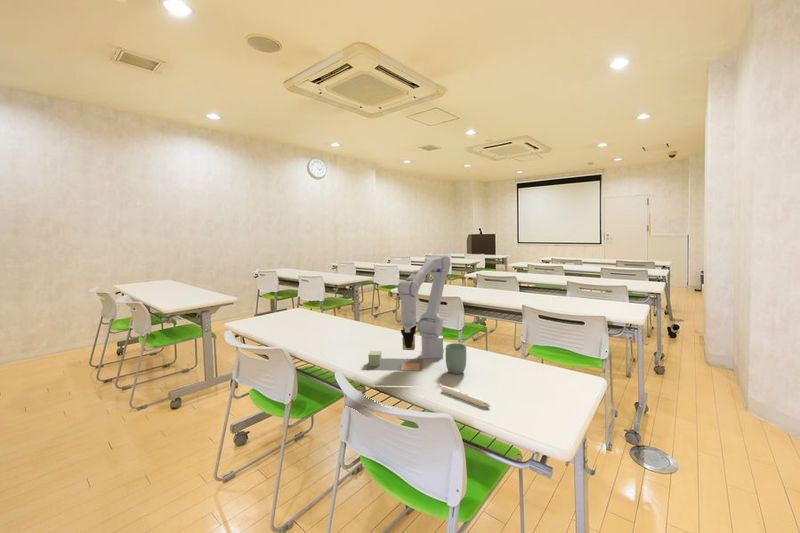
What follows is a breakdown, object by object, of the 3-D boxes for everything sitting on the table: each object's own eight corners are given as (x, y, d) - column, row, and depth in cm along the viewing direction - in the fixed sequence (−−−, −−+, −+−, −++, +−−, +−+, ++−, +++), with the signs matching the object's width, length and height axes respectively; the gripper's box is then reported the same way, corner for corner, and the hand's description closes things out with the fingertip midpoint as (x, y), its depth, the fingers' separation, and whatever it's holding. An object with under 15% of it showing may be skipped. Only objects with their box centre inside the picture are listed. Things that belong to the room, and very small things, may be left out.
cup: (467, 369, 138) (467, 344, 138) (465, 377, 131) (465, 350, 130) (447, 367, 140) (447, 342, 140) (444, 375, 133) (444, 349, 132)
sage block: (381, 361, 147) (381, 351, 146) (379, 366, 142) (379, 354, 142) (370, 361, 147) (370, 351, 147) (368, 365, 143) (368, 354, 142)
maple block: (415, 346, 142) (414, 335, 142) (414, 350, 138) (414, 338, 138) (403, 346, 143) (403, 335, 143) (402, 350, 138) (402, 338, 138)
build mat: (422, 360, 149) (422, 358, 149) (421, 372, 136) (421, 370, 136) (370, 359, 151) (370, 358, 151) (364, 371, 139) (364, 369, 139)
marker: (492, 408, 108) (492, 401, 108) (488, 411, 106) (488, 403, 106) (445, 390, 121) (445, 383, 120) (441, 392, 119) (441, 385, 119)
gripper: (400, 307, 147) (400, 340, 148) (396, 315, 132) (397, 351, 134) (417, 307, 146) (417, 340, 147) (415, 315, 132) (415, 351, 133)
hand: (409, 345), depth 140 cm, fingers closed on maple block, 4 cm apart
